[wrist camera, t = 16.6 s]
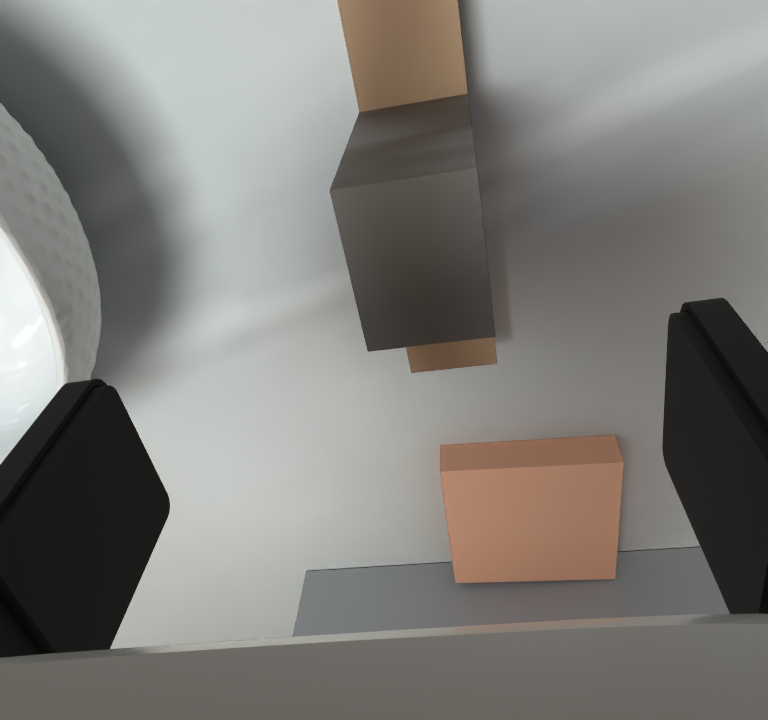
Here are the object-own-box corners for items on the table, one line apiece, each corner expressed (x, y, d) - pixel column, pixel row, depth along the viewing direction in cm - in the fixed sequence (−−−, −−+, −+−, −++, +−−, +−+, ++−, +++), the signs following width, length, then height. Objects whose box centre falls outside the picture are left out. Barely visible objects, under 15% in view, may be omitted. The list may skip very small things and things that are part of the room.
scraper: (443, -130, 17) (443, -145, 10) (493, 332, 25) (512, 490, 18) (328, -104, 17) (260, -102, 11) (413, 341, 25) (403, 499, 19)
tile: (606, 542, 31) (615, 579, 29) (455, 547, 32) (455, 583, 30) (613, 427, 27) (623, 462, 25) (440, 437, 28) (440, 471, 27)
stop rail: (732, 587, 31) (765, 667, 28) (320, 608, 35) (307, 682, 31) (738, 544, 30) (775, 625, 26) (306, 571, 33) (290, 645, 30)
